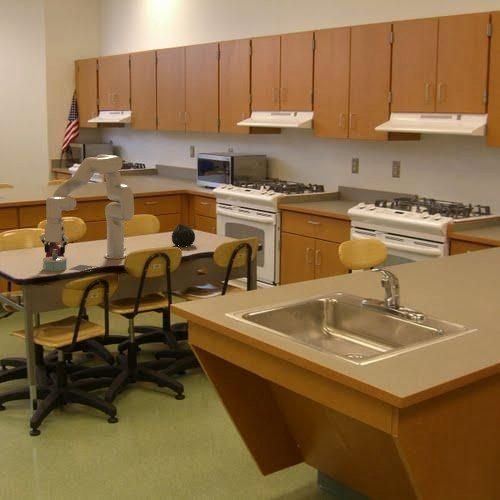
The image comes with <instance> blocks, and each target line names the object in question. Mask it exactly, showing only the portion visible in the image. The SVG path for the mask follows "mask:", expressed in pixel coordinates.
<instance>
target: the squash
mask: <svg viewBox="0 0 500 500" xmlns="http://www.w3.org/2000/svg"><path fill="white" fill-rule="evenodd" d="M195 241H196V234H195V232H194V230H193V229H192V228H190V227H189V226H188V225H185V224H182V223H178V224H177V226H176V227H175V228H174V229H173V231H172V234H171V242H172V243H173V244H174V246H176V245H177V247H181V246H184V247H185V246H188V247H189V246H191V245H193V244H194V243H195ZM178 245H179V246H178Z"/></svg>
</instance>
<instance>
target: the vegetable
mask: <svg viewBox="0 0 500 500" xmlns="http://www.w3.org/2000/svg"><path fill="white" fill-rule="evenodd" d="M60 247H61V246H59V244H58V243H55V242H49V252H47V253H45V258H46V257H52V249H57V256H58V257H65V253H64V254H60Z"/></svg>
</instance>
